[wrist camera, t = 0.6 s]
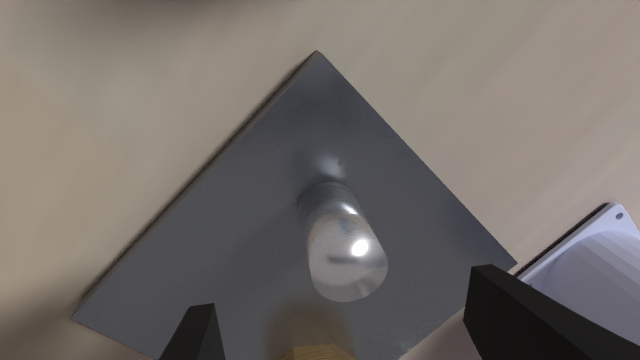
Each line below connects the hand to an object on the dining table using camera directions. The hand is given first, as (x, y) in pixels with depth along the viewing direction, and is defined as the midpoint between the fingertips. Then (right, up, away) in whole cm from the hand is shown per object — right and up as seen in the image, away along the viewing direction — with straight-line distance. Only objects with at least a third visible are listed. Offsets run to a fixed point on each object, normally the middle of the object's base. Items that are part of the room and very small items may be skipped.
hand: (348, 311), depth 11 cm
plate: (-1, -2, +12) cm, 12 cm away
